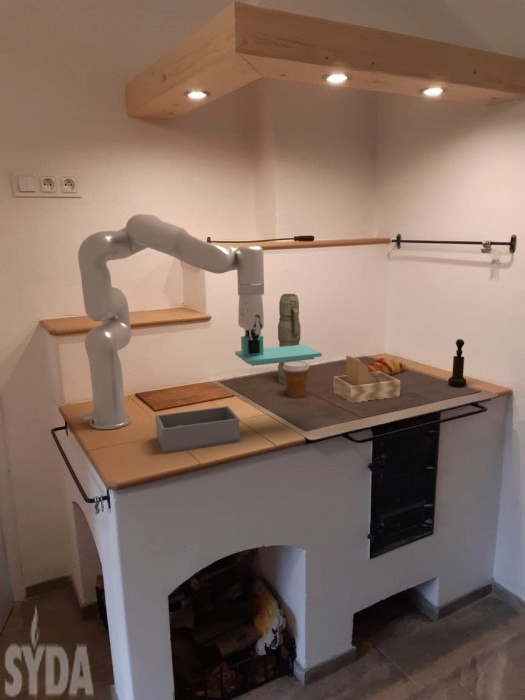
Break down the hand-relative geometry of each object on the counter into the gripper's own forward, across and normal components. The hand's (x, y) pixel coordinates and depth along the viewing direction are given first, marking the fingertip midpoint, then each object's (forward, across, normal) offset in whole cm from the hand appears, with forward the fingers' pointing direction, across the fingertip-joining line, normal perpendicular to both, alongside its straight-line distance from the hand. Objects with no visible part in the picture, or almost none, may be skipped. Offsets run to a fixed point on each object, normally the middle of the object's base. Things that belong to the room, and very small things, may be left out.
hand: (252, 351), depth 155 cm
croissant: (+25, -40, +71) cm, 86 cm away
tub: (+25, +1, -18) cm, 30 cm away
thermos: (+25, -43, +29) cm, 58 cm away
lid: (+3, 0, +8) cm, 9 cm away
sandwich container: (+25, -18, +50) cm, 59 cm away
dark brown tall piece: (+25, -15, +87) cm, 92 cm away
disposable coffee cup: (+25, -27, +25) cm, 45 cm away
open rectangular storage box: (+25, -18, +49) cm, 58 cm away
